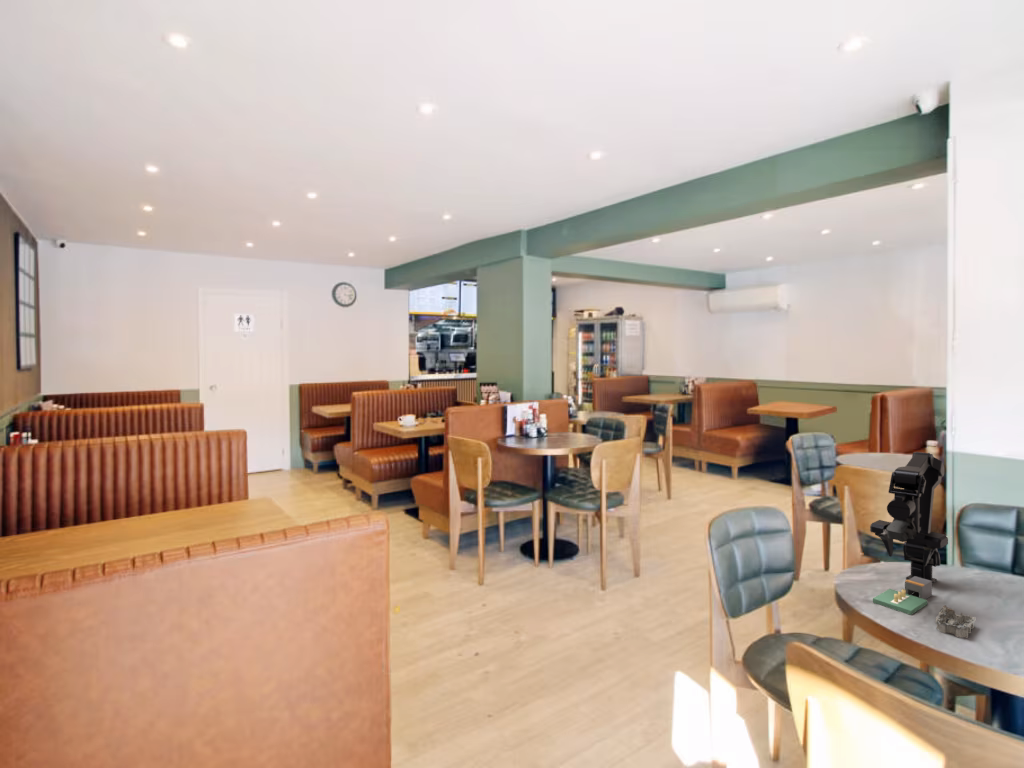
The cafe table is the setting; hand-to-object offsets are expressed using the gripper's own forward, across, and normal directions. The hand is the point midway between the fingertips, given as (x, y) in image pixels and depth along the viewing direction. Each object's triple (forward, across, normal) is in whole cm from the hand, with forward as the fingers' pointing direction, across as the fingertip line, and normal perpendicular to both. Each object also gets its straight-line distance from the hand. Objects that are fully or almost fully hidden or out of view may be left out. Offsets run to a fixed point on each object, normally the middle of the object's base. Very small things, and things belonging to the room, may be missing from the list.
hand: (907, 560), depth 169 cm
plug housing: (+12, +1, +4) cm, 12 cm away
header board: (+11, 0, -6) cm, 13 cm away
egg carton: (+12, +16, -10) cm, 22 cm away
